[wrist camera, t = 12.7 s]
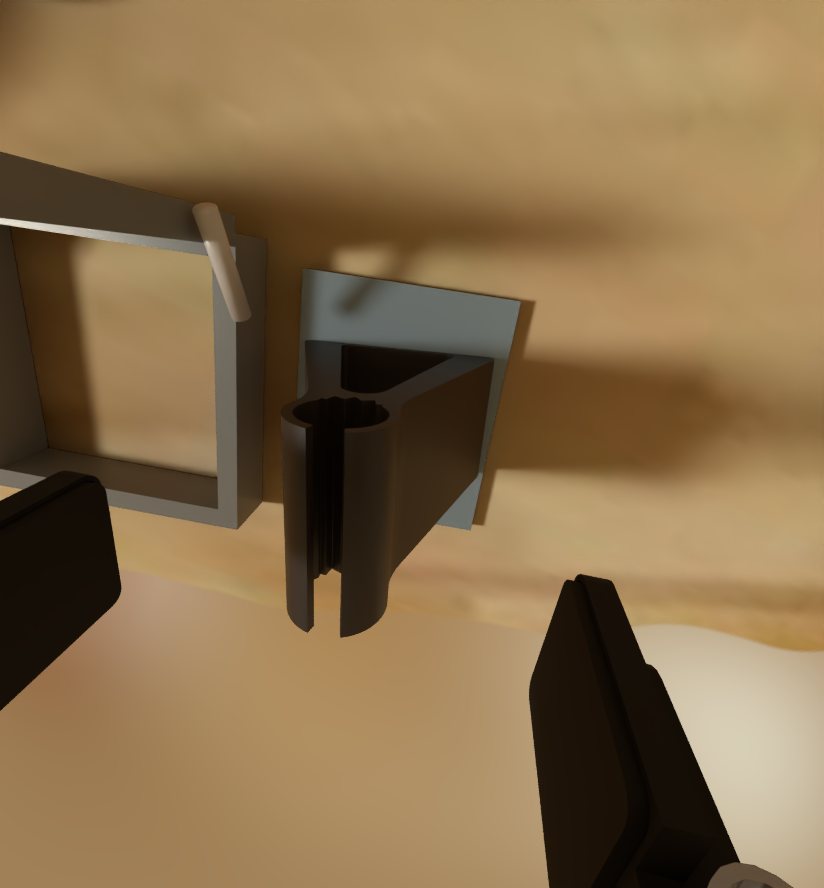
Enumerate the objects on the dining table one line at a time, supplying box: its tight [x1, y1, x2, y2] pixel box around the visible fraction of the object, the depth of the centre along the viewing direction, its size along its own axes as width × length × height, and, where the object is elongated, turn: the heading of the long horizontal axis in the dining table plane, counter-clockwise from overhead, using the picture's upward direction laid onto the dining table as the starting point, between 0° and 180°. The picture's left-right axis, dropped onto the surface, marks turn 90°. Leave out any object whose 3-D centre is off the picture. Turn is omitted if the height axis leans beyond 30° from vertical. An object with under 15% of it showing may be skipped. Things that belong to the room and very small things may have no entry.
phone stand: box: [281, 340, 495, 638], centre depth 17 cm, size 9×6×12 cm, turn 85°
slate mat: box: [297, 268, 521, 530], centre depth 23 cm, size 10×12×1 cm
